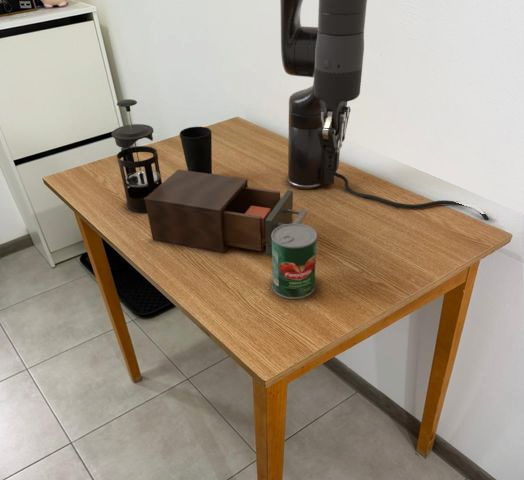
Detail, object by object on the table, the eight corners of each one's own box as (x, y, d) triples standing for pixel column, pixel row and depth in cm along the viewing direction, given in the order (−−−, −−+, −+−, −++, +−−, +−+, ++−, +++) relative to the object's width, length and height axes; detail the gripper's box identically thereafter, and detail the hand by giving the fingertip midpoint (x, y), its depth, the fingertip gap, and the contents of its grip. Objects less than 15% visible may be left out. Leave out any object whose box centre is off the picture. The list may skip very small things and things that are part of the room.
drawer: (310, 227, 108) (312, 193, 103) (291, 260, 99) (291, 224, 94) (227, 214, 114) (224, 180, 108) (201, 243, 105) (197, 209, 99)
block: (271, 227, 106) (271, 208, 104) (264, 237, 104) (263, 218, 101) (252, 224, 108) (251, 205, 105) (244, 234, 105) (243, 215, 102)
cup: (214, 186, 126) (209, 137, 118) (184, 187, 126) (177, 138, 118) (217, 173, 132) (212, 126, 124) (188, 174, 132) (181, 126, 124)
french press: (175, 205, 119) (159, 101, 104) (140, 218, 115) (117, 112, 100) (150, 188, 126) (132, 89, 111) (116, 200, 122) (92, 99, 106)
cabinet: (249, 219, 113) (247, 178, 107) (223, 253, 103) (219, 210, 97) (183, 209, 118) (178, 169, 111) (152, 240, 108) (144, 198, 101)
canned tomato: (294, 269, 98) (295, 218, 91) (323, 287, 94) (326, 234, 86) (263, 286, 95) (261, 234, 87) (292, 305, 90) (293, 252, 83)
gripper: (352, 77, 74) (342, 189, 86) (370, 55, 83) (359, 159, 95) (303, 73, 76) (300, 183, 88) (326, 52, 85) (321, 154, 97)
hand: (331, 170), depth 91 cm, fingers closed
